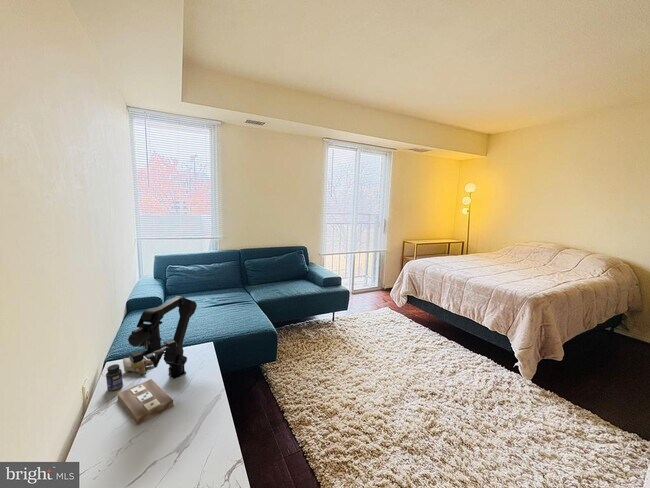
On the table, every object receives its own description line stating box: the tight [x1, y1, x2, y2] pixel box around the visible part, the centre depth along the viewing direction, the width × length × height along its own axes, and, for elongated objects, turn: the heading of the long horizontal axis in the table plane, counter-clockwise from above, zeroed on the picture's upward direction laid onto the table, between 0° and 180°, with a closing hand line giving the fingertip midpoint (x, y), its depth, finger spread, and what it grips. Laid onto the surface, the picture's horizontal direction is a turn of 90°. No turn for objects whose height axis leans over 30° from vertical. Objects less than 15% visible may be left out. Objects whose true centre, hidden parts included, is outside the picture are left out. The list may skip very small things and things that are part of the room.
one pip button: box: [143, 399, 161, 411], centre depth 121 cm, size 5×5×3 cm
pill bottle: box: [105, 363, 124, 392], centre depth 136 cm, size 6×6×11 cm
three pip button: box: [137, 391, 153, 403], centre depth 126 cm, size 5×5×3 cm
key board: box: [117, 378, 175, 426], centre depth 126 cm, size 14×24×3 cm, turn 52°
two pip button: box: [130, 385, 146, 395], centre depth 131 cm, size 5×5×3 cm
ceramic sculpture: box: [122, 357, 153, 375], centre depth 150 cm, size 11×9×15 cm
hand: (155, 367), depth 133 cm, fingers closed
